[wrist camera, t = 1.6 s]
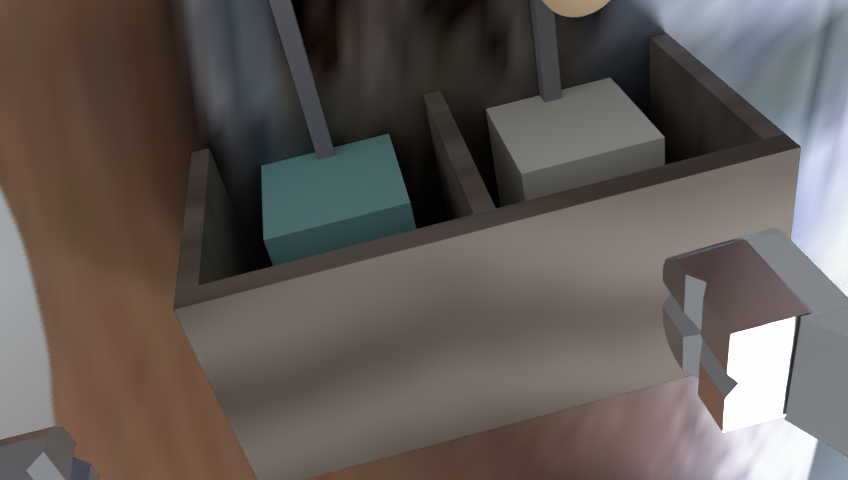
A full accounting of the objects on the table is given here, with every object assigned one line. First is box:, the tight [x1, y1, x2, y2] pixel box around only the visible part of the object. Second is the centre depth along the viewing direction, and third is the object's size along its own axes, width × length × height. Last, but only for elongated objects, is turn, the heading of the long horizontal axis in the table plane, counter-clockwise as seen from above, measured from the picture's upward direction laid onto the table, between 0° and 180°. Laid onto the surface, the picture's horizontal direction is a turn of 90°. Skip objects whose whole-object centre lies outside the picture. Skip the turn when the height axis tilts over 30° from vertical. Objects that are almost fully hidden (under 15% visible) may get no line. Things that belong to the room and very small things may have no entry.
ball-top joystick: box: [261, 0, 416, 266], centre depth 32 cm, size 19×6×6 cm, turn 11°
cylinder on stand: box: [486, 0, 665, 207], centre depth 34 cm, size 15×6×6 cm, turn 11°
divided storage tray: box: [173, 33, 801, 480], centre depth 35 cm, size 10×22×11 cm, turn 101°
